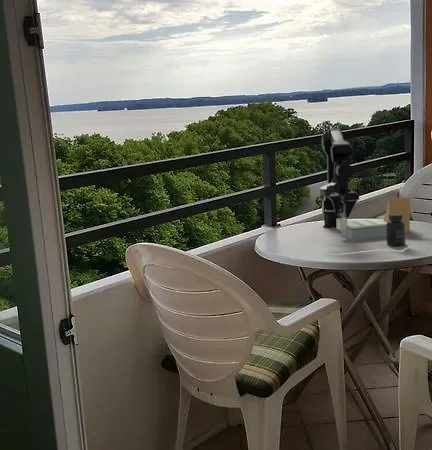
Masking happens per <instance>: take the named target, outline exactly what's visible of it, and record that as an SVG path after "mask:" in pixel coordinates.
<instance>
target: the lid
mask: <svg viewBox="0 0 432 450" xmlns="http://www.w3.org/2000/svg"><path fill="white" fill-rule="evenodd" d="M386 224H387V222H384V221H383V220H380V219H378V218H377V219H376V218H375V219H364V220H356V221H355V220H353V221H348V219H347V218H346V217H341V218H338V219H337V227H336V229H337V230H339V231H341V230H345V229H347V227H348V228H350V229H359V228H369V227H378V226H386Z"/></svg>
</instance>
